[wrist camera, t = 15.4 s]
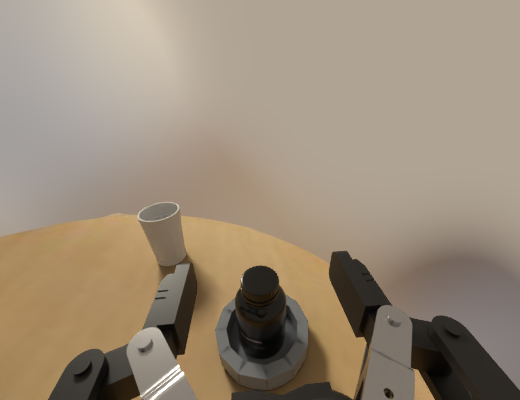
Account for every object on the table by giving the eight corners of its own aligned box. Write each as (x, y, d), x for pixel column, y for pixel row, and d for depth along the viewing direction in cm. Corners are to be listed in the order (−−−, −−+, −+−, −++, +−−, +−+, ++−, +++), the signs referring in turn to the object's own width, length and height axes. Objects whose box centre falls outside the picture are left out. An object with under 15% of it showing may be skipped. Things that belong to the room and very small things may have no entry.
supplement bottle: (241, 366, 30) (231, 307, 24) (238, 319, 36) (230, 263, 30) (291, 356, 31) (293, 297, 25) (280, 312, 37) (279, 256, 31)
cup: (197, 249, 53) (187, 205, 47) (173, 273, 46) (158, 225, 41) (171, 242, 56) (159, 199, 50) (145, 263, 49) (128, 217, 44)
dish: (269, 418, 26) (268, 406, 24) (201, 344, 33) (197, 331, 32) (322, 332, 34) (324, 319, 33) (258, 288, 42) (257, 276, 40)
